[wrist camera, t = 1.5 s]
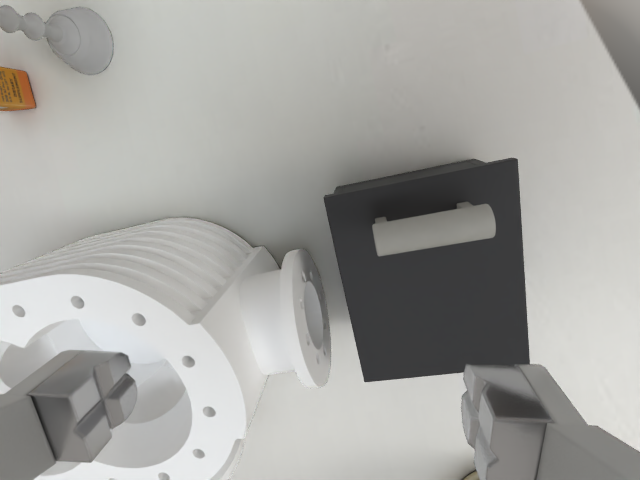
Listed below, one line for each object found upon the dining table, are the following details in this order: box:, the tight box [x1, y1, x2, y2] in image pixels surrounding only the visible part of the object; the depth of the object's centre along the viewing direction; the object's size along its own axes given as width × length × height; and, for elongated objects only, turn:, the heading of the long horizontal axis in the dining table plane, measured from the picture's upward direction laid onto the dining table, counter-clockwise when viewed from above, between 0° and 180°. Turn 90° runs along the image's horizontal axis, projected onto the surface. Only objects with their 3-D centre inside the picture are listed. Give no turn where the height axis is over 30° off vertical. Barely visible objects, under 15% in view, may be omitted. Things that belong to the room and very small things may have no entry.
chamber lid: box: [324, 158, 530, 382], centre depth 22 cm, size 14×12×5 cm
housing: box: [0, 218, 331, 480], centre depth 31 cm, size 35×22×14 cm, turn 104°
